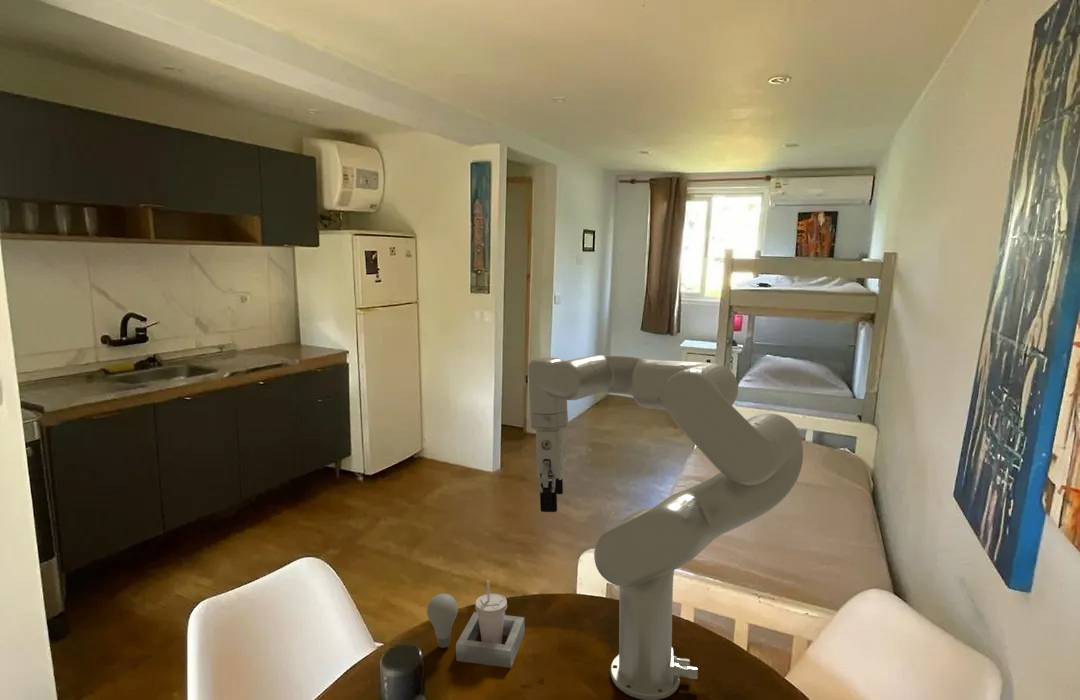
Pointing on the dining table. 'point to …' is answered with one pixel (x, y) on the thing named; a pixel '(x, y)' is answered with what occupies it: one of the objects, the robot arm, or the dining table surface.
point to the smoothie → (491, 616)
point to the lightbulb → (442, 617)
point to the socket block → (490, 651)
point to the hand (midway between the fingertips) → (552, 502)
